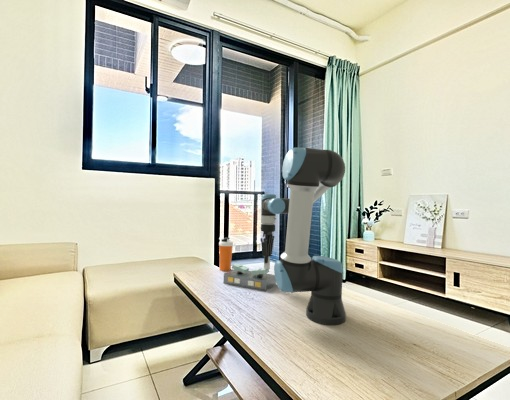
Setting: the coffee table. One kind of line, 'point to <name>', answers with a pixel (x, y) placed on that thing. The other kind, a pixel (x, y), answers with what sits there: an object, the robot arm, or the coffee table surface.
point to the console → (250, 280)
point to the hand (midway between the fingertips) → (266, 268)
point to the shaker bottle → (225, 254)
